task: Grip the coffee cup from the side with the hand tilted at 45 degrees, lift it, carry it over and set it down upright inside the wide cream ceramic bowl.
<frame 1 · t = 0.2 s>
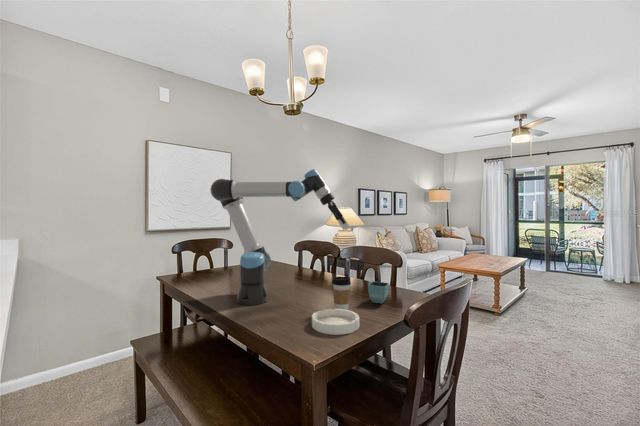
hand: (346, 229, 164), 35 cm above the table, tool tilted 35°, fingers open, 13 cm apart
flower pot: (378, 302, 152), on the table
coffee cup: (341, 311, 139), on the table
serving bowl: (335, 325, 122), on the table
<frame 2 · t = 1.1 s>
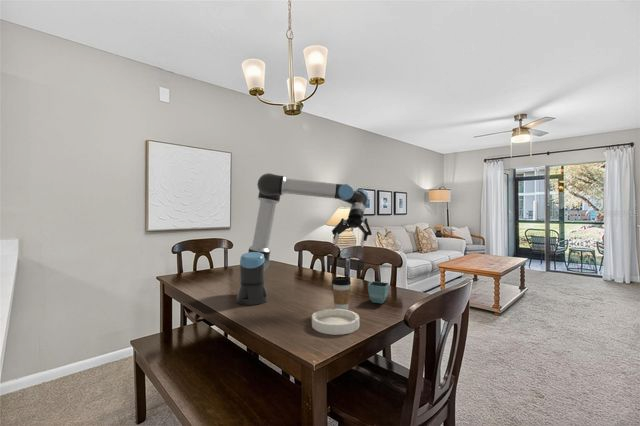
hand: (348, 245, 149), 28 cm above the table, tool tilted 45°, fingers open, 13 cm apart
nothing on the table moved.
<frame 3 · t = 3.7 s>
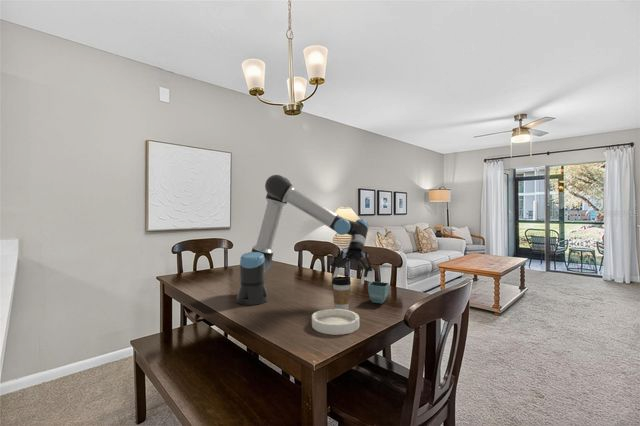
hand: (347, 281, 144), 12 cm above the table, tool tilted 45°, fingers open, 13 cm apart
nothing on the table moved.
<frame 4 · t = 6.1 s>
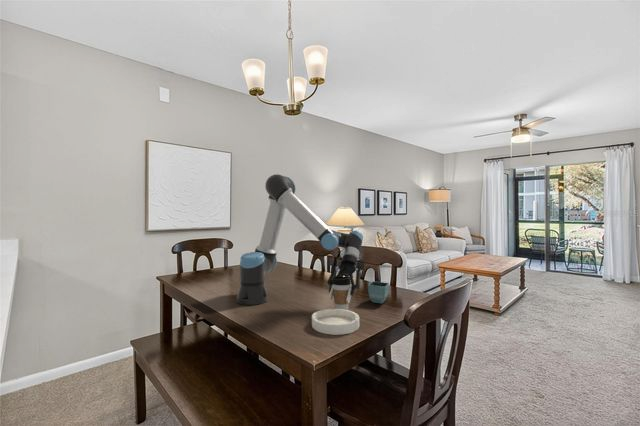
hand: (338, 300, 136), 6 cm above the table, tool tilted 45°, fingers closed on coffee cup, 8 cm apart
coffee cup: (341, 311, 139), on the table, touching gripper
everything else where it was.
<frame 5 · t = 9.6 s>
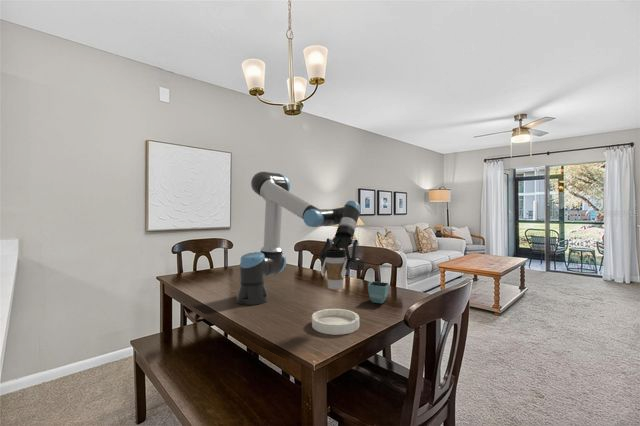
hand: (332, 275, 119), 20 cm above the table, tool tilted 45°, fingers closed on coffee cup, 8 cm apart
coffee cup: (335, 288, 122), point 15 cm above the table, touching gripper
everything else where it was.
when the fingers open (7 cm above the table, at t = 13.2 s): coffee cup stays where it is, resting on serving bowl.
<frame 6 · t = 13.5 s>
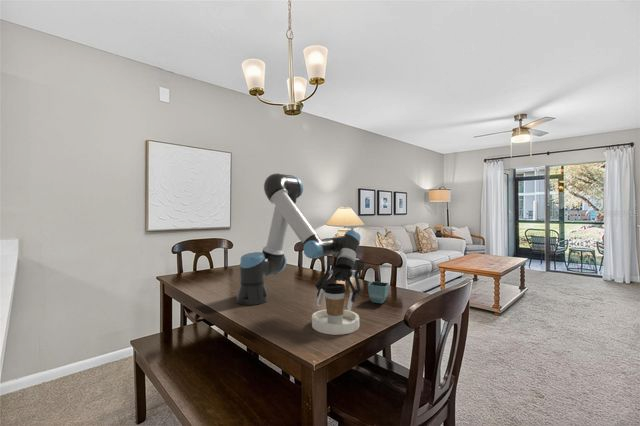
hand: (333, 307, 119), 8 cm above the table, tool tilted 45°, fingers open, 12 cm apart
coffee cup: (335, 322, 122), point 1 cm above the table, touching serving bowl
everything else where it was.
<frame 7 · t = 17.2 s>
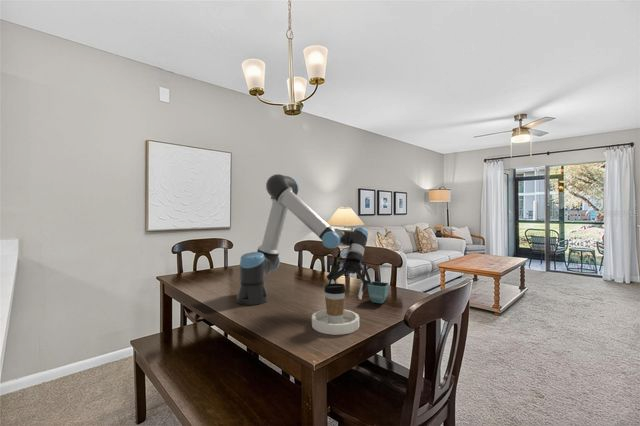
hand: (344, 295, 132), 9 cm above the table, tool tilted 45°, fingers open, 13 cm apart
nothing on the table moved.
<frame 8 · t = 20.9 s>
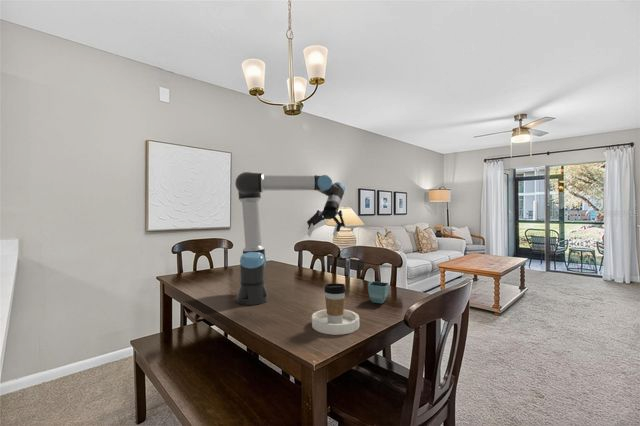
hand: (321, 235, 153), 33 cm above the table, tool tilted 45°, fingers open, 13 cm apart
nothing on the table moved.
at the end: coffee cup inside the target area on the serving bowl (0.2 cm from its centre), point 0.8 cm above the serving bowl's base; coffee cup tilted 0°; the gripper is holding nothing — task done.
